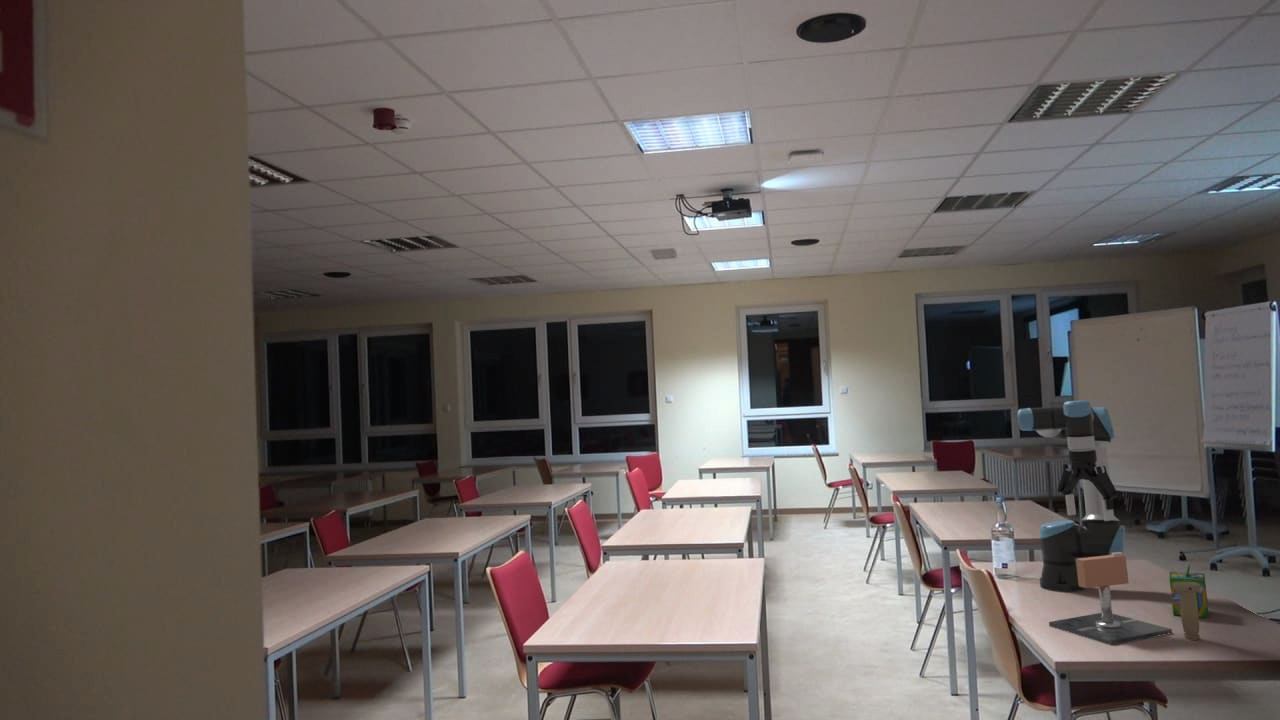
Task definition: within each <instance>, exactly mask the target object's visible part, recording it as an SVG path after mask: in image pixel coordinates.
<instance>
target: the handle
mask: <svg viewBox="0 0 1280 720" xmlns="http://www.w3.org/2000/svg"><path fill="white" fill-rule="evenodd" d="M1172 587H1173V588H1174V589H1175V590H1177V591H1179V593H1180V603H1181V616H1180V619H1181V625H1182V630H1183V632H1184V633H1183V634H1184V638H1186V640H1190V639H1191V641H1196V640H1199V639H1200V634H1199V633H1200V621H1199V620H1200V617H1198V613H1197V608H1196V602H1195V596H1194V593H1195V592H1196V591H1198V590H1199V589H1200V584H1198V583H1195V582H1174V583H1172Z"/></svg>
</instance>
